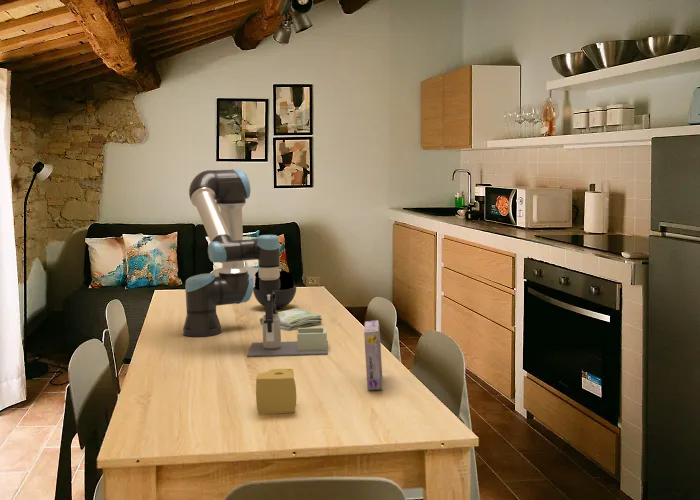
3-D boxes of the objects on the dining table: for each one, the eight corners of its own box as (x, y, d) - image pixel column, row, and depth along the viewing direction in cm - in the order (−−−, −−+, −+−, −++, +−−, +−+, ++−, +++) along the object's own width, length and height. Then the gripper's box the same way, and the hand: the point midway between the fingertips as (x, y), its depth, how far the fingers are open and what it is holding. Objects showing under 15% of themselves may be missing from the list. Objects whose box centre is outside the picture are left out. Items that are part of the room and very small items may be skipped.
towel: (289, 332, 319) (288, 319, 319) (259, 324, 336) (258, 313, 335) (324, 325, 331) (324, 313, 331) (294, 318, 347) (293, 307, 347)
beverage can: (278, 350, 284) (277, 317, 283) (261, 349, 285) (259, 316, 284) (283, 346, 290) (282, 313, 289) (266, 345, 291) (265, 313, 290)
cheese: (257, 404, 223) (256, 369, 222) (296, 402, 224) (295, 367, 223) (256, 415, 213) (255, 379, 211) (297, 413, 213) (295, 377, 212)
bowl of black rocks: (305, 306, 373) (304, 266, 371) (279, 314, 356) (277, 272, 354) (271, 303, 384) (270, 264, 382) (244, 310, 367) (243, 270, 365)
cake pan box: (366, 374, 251) (364, 319, 249) (382, 374, 251) (381, 318, 249) (365, 391, 232) (364, 331, 230) (382, 391, 232) (381, 331, 230)
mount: (252, 344, 297) (251, 326, 297) (327, 342, 298) (327, 324, 297) (247, 357, 277) (246, 338, 277) (327, 354, 278) (327, 336, 277)
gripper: (277, 283, 272) (280, 344, 275) (281, 273, 297) (283, 329, 300) (255, 284, 272) (258, 345, 275) (261, 274, 297) (263, 330, 299)
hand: (271, 337), depth 287 cm, fingers open, 13 cm apart
